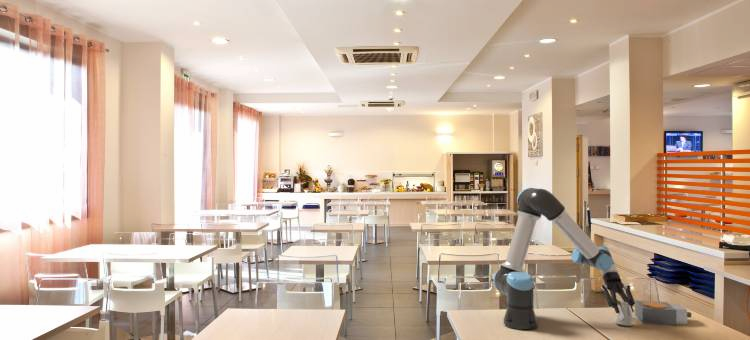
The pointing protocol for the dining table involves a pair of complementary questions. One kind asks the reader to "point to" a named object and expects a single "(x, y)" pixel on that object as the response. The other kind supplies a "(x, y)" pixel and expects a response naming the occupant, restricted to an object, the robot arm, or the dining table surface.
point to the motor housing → (661, 313)
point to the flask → (626, 319)
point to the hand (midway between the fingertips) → (627, 319)
